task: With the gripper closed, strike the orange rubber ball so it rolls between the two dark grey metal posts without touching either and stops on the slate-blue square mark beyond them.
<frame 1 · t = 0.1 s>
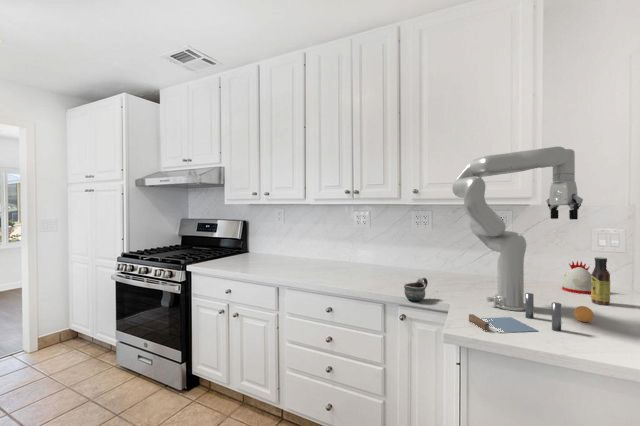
hand: (563, 219, 138), 37 cm above the worktop, tool pointing down, fingers open, 9 cm apart
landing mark: (505, 324, 115), on the worktop
mug: (416, 300, 149), on the worktop
edge side post: (556, 329, 110), on the worktop
ball: (583, 314, 118), on the worktop
base side post: (529, 317, 123), on the worktop
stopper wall: (478, 325, 115), on the worktop
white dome: (579, 291, 162), on the worktop
sauce bottle: (600, 303, 140), on the worktop
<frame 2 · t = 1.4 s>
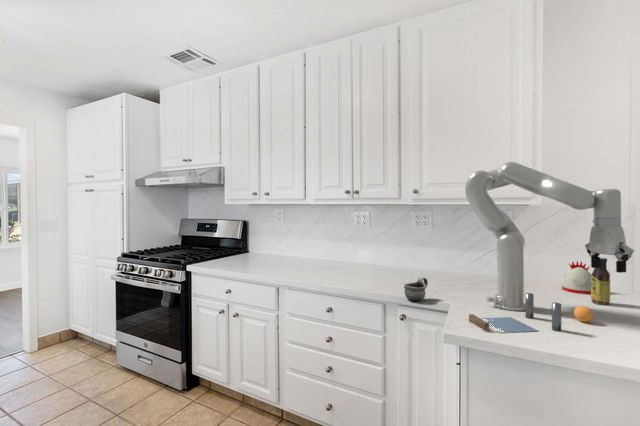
hand: (608, 269, 119), 19 cm above the worktop, tool pointing down, fingers open, 9 cm apart
nothing on the worktop moved.
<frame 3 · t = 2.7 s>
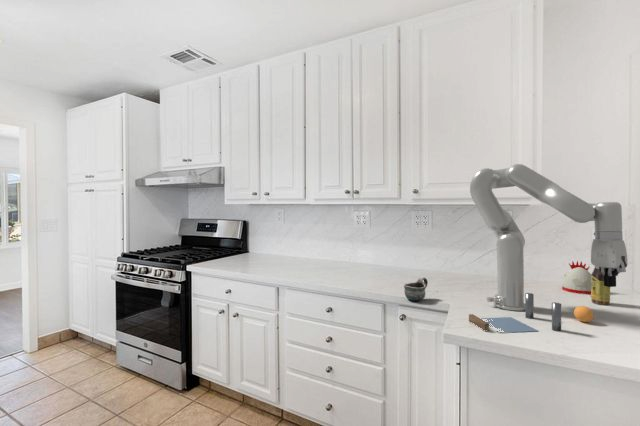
hand: (610, 286, 118), 13 cm above the worktop, tool pointing down, fingers closed
nothing on the worktop moved.
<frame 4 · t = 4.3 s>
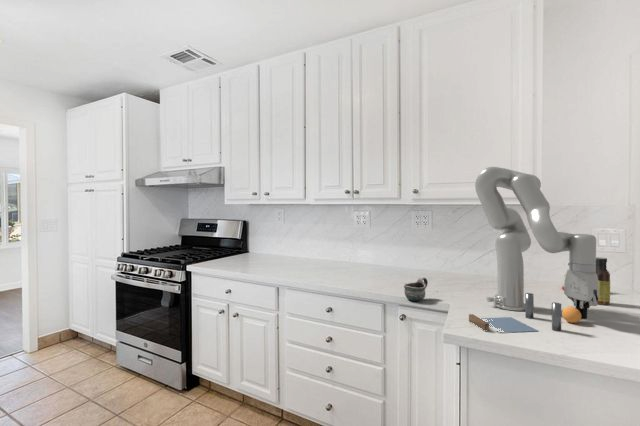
hand: (581, 318, 118), 1 cm above the worktop, tool pointing down, fingers closed
ball: (571, 314, 117), on the worktop
everything else where it was.
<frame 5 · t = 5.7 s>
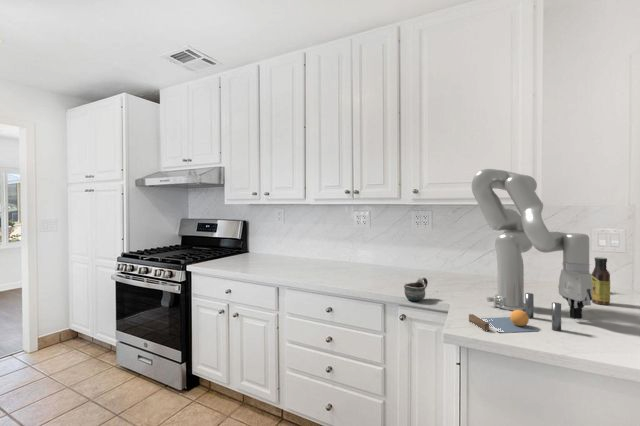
hand: (575, 317, 118), 2 cm above the worktop, tool pointing down, fingers closed
ball: (519, 318, 114), on the worktop
everything else where it was.
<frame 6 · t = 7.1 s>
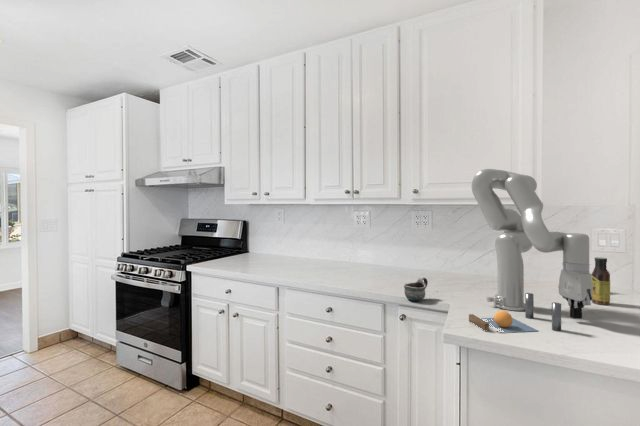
hand: (575, 317, 118), 2 cm above the worktop, tool pointing down, fingers closed
ball: (503, 319, 113), on the worktop
everything else where it was.
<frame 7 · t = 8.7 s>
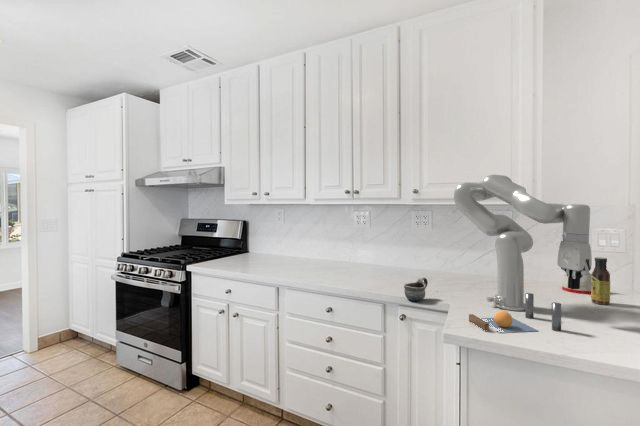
hand: (573, 288, 118), 12 cm above the worktop, tool pointing down, fingers closed
nothing on the worktop moved.
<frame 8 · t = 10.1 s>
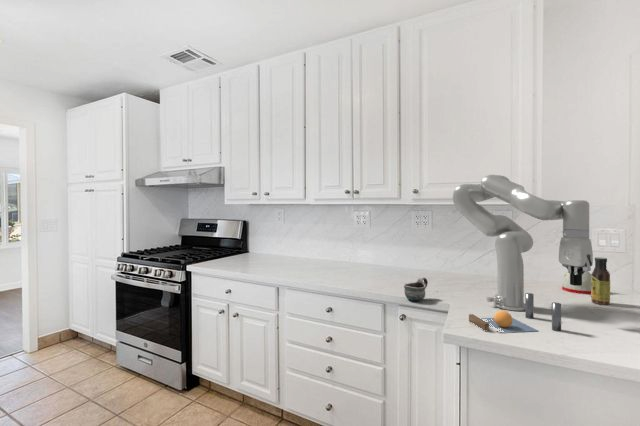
hand: (575, 284, 117), 14 cm above the worktop, tool pointing down, fingers closed
nothing on the worktop moved.
at the end: ball 2.9 cm from the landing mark (horizontally); ball never touched base side post; ball never touched edge side post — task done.
